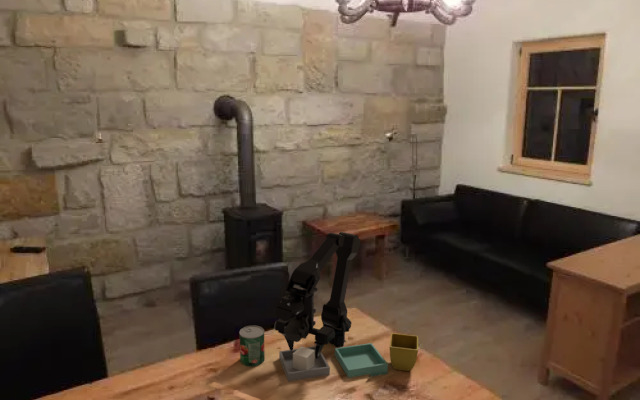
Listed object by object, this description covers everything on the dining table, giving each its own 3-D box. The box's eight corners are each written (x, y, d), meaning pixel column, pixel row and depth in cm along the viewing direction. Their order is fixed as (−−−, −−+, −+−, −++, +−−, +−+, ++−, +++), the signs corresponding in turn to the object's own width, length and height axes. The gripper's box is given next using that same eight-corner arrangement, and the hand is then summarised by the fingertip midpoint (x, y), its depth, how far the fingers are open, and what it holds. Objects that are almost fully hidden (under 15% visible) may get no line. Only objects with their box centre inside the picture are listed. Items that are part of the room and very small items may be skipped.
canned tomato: (269, 362, 152) (269, 331, 150) (250, 372, 146) (250, 340, 144) (254, 353, 157) (253, 323, 155) (235, 362, 152) (234, 331, 149)
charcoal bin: (279, 361, 153) (279, 351, 152) (317, 355, 156) (317, 345, 156) (288, 384, 141) (288, 373, 140) (329, 377, 144) (329, 367, 144)
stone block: (292, 367, 147) (292, 353, 146) (300, 360, 152) (301, 346, 151) (306, 372, 145) (306, 357, 144) (314, 364, 149) (314, 350, 148)
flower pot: (416, 376, 146) (418, 349, 144) (388, 372, 147) (389, 346, 146) (416, 360, 154) (418, 335, 152) (389, 357, 156) (391, 332, 154)
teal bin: (334, 357, 155) (334, 348, 154) (371, 352, 159) (371, 342, 158) (348, 380, 143) (348, 370, 142) (387, 373, 147) (387, 363, 146)
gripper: (264, 311, 141) (264, 358, 145) (318, 326, 133) (317, 375, 136) (284, 297, 151) (284, 342, 154) (336, 311, 142) (335, 357, 146)
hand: (304, 354), depth 148 cm, fingers open, 9 cm apart
